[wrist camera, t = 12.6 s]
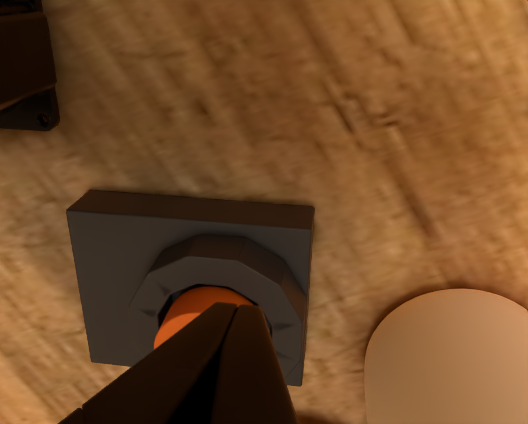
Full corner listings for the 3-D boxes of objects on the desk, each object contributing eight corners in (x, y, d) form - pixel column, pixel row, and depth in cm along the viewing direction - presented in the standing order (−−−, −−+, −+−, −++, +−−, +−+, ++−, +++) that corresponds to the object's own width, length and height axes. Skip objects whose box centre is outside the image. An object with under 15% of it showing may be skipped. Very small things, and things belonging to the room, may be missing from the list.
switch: (171, 361, 21) (157, 392, 20) (164, 280, 19) (149, 307, 18) (265, 371, 21) (258, 404, 19) (267, 290, 19) (260, 319, 17)
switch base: (109, 333, 26) (72, 391, 22) (89, 189, 22) (41, 229, 19) (304, 354, 25) (298, 419, 21) (315, 205, 21) (309, 253, 18)
